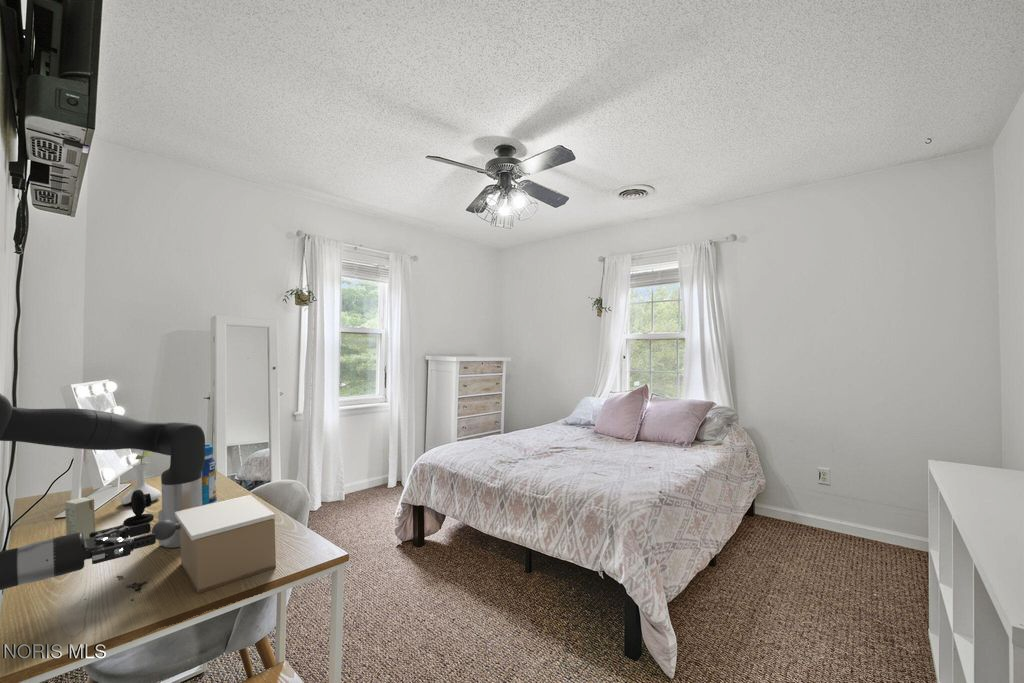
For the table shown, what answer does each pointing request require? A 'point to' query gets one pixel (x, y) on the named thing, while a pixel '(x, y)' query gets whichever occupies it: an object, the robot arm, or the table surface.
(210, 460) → the beverage bottle
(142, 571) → the table surface
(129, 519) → the webcam
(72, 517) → the skincare box
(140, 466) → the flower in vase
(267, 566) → the carton
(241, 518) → the white box lid
